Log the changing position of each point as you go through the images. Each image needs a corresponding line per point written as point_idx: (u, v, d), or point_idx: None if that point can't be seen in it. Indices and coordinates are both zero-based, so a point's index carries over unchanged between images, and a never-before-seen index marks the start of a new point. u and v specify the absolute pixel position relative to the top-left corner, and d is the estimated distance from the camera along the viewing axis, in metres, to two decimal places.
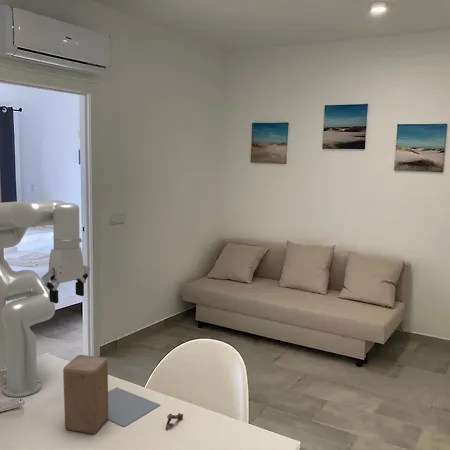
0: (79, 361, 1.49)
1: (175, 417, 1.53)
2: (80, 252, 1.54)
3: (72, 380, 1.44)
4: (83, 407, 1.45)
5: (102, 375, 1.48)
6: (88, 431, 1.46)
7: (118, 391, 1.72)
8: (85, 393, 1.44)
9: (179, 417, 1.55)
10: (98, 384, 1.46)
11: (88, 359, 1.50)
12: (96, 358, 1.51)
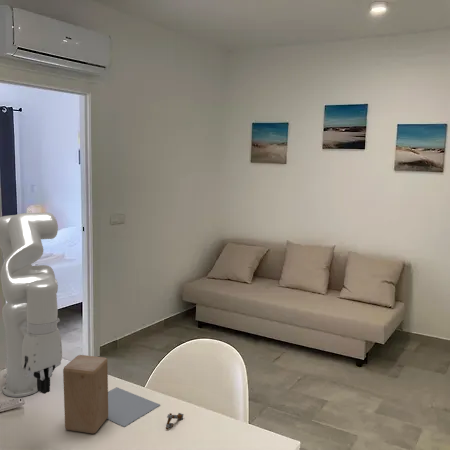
0: (79, 360, 1.49)
1: (175, 417, 1.53)
2: (58, 334, 1.36)
3: (72, 380, 1.44)
4: (83, 407, 1.45)
5: (102, 375, 1.48)
6: (88, 431, 1.46)
7: (118, 391, 1.72)
8: (84, 393, 1.44)
9: (179, 417, 1.55)
10: (97, 384, 1.46)
11: (88, 359, 1.50)
12: (96, 358, 1.51)
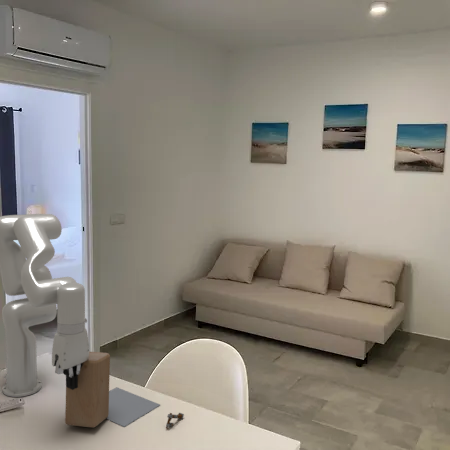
0: None
1: (175, 416, 1.53)
2: (86, 334, 1.44)
3: None
4: (85, 399, 1.46)
5: (104, 368, 1.51)
6: (88, 425, 1.46)
7: (118, 391, 1.72)
8: (87, 383, 1.46)
9: (179, 417, 1.55)
10: (100, 376, 1.48)
11: (91, 353, 1.53)
12: (99, 353, 1.54)
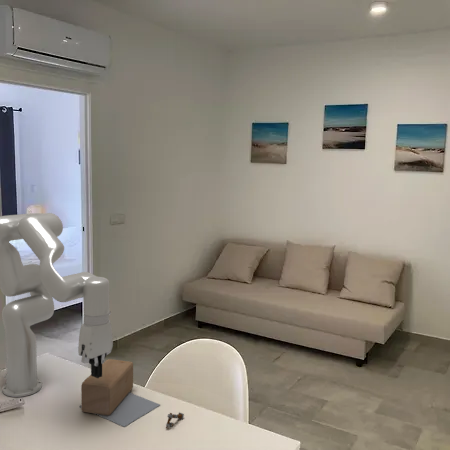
0: None
1: (175, 416, 1.53)
2: (110, 325, 1.52)
3: (111, 362, 1.71)
4: (111, 374, 1.63)
5: (129, 380, 1.70)
6: (104, 384, 1.55)
7: None
8: (118, 368, 1.67)
9: (180, 416, 1.56)
10: (128, 374, 1.69)
11: None
12: None
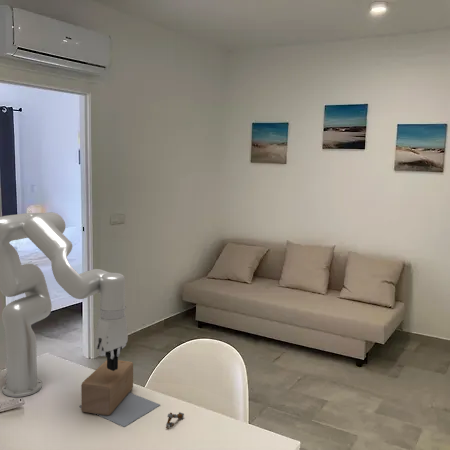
0: None
1: (175, 416, 1.53)
2: (125, 320, 1.57)
3: None
4: (111, 374, 1.63)
5: (129, 380, 1.70)
6: (104, 384, 1.55)
7: None
8: (118, 368, 1.67)
9: (180, 416, 1.56)
10: (128, 374, 1.69)
11: None
12: None
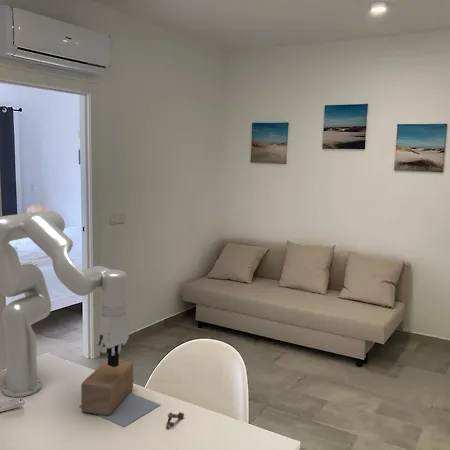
0: None
1: (176, 416, 1.53)
2: (126, 317, 1.58)
3: None
4: (111, 374, 1.63)
5: (129, 380, 1.70)
6: (104, 384, 1.55)
7: None
8: (118, 368, 1.67)
9: (180, 416, 1.56)
10: (128, 374, 1.69)
11: None
12: None
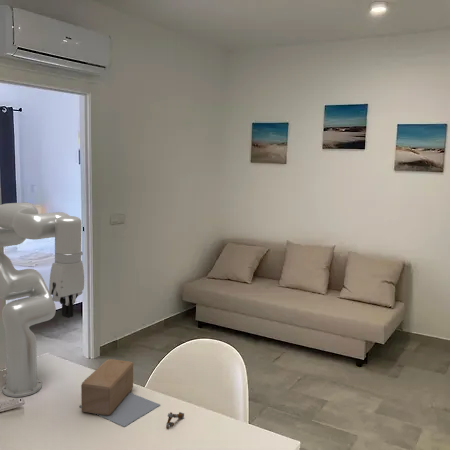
0: None
1: (176, 416, 1.54)
2: (81, 265, 1.52)
3: (111, 362, 1.71)
4: (111, 374, 1.63)
5: (129, 380, 1.70)
6: (104, 384, 1.55)
7: None
8: (118, 368, 1.67)
9: (180, 416, 1.56)
10: (128, 374, 1.69)
11: None
12: None
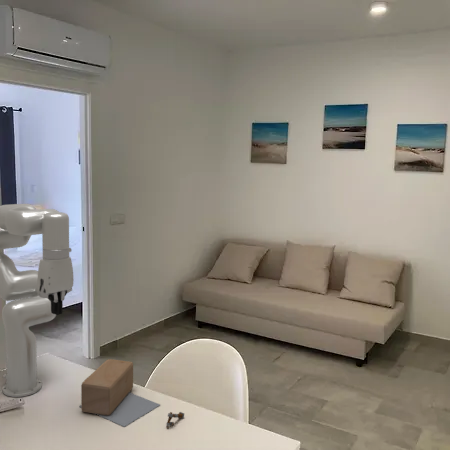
0: None
1: (176, 416, 1.54)
2: (70, 262, 1.51)
3: (111, 362, 1.71)
4: (111, 374, 1.63)
5: (129, 380, 1.70)
6: (104, 384, 1.55)
7: None
8: (118, 368, 1.67)
9: (180, 416, 1.56)
10: (128, 374, 1.69)
11: None
12: None
